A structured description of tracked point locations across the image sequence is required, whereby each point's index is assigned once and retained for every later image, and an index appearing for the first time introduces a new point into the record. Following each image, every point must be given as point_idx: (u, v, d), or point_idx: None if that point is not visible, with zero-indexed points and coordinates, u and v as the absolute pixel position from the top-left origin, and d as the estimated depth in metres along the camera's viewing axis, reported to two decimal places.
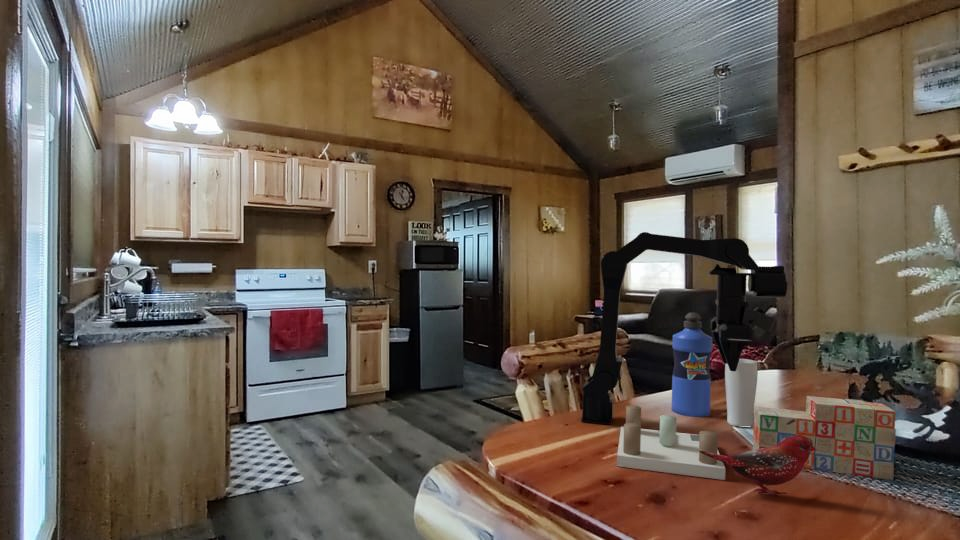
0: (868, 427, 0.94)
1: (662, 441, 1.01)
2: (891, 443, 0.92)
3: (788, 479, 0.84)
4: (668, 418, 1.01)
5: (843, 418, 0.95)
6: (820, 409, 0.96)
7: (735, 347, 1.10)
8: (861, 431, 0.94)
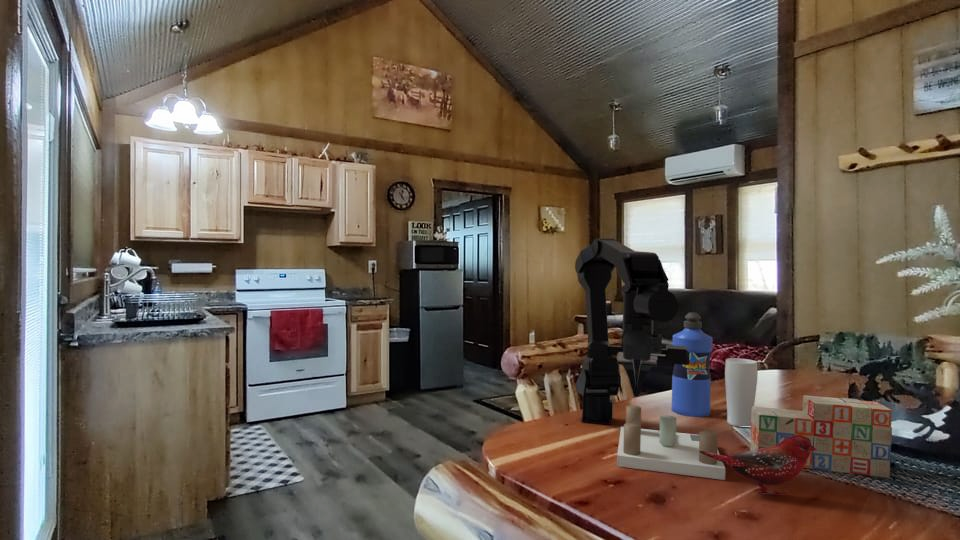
0: (865, 426, 0.94)
1: (662, 441, 1.01)
2: (888, 441, 0.93)
3: (788, 479, 0.84)
4: (668, 418, 1.01)
5: (841, 417, 0.96)
6: (818, 409, 0.96)
7: None
8: (858, 430, 0.95)
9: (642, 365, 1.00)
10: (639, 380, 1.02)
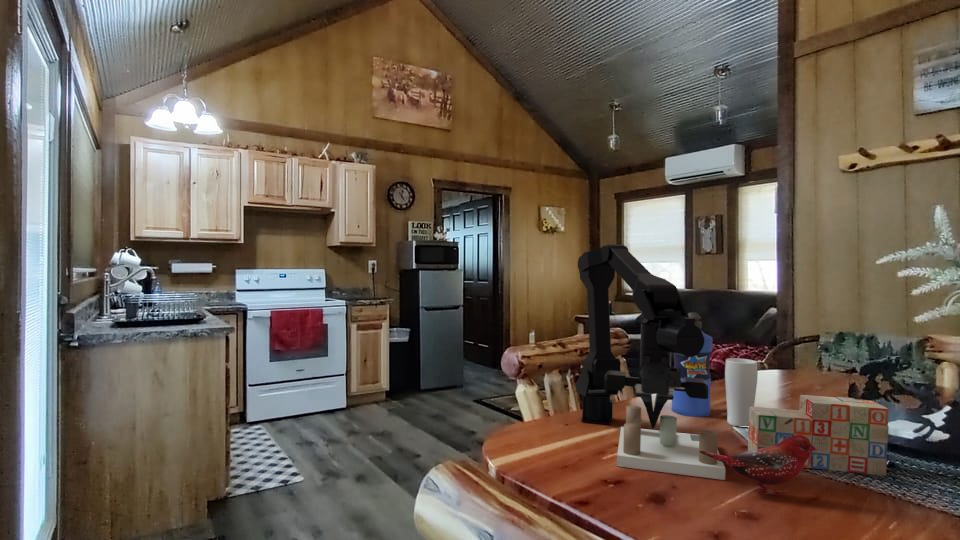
0: (862, 425, 0.95)
1: (662, 441, 1.01)
2: (884, 440, 0.94)
3: (788, 479, 0.84)
4: (668, 418, 1.01)
5: (838, 416, 0.96)
6: (817, 408, 0.97)
7: None
8: (856, 429, 0.95)
9: (659, 398, 0.99)
10: (655, 412, 1.01)
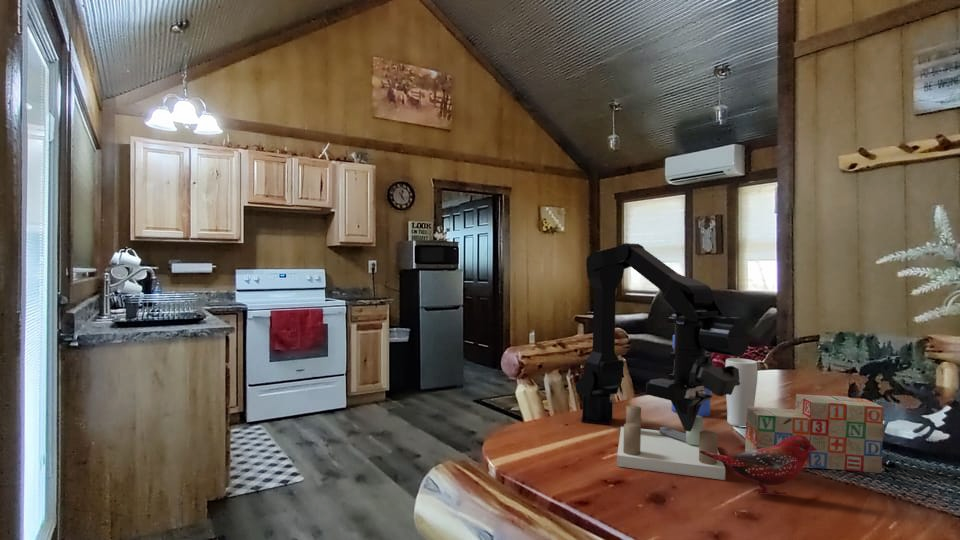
0: (859, 423, 0.96)
1: (696, 442, 1.01)
2: (880, 438, 0.95)
3: (788, 479, 0.84)
4: (698, 417, 1.02)
5: (836, 415, 0.97)
6: (815, 407, 0.97)
7: (685, 404, 1.00)
8: (852, 427, 0.96)
9: (704, 398, 0.99)
10: (695, 414, 1.00)
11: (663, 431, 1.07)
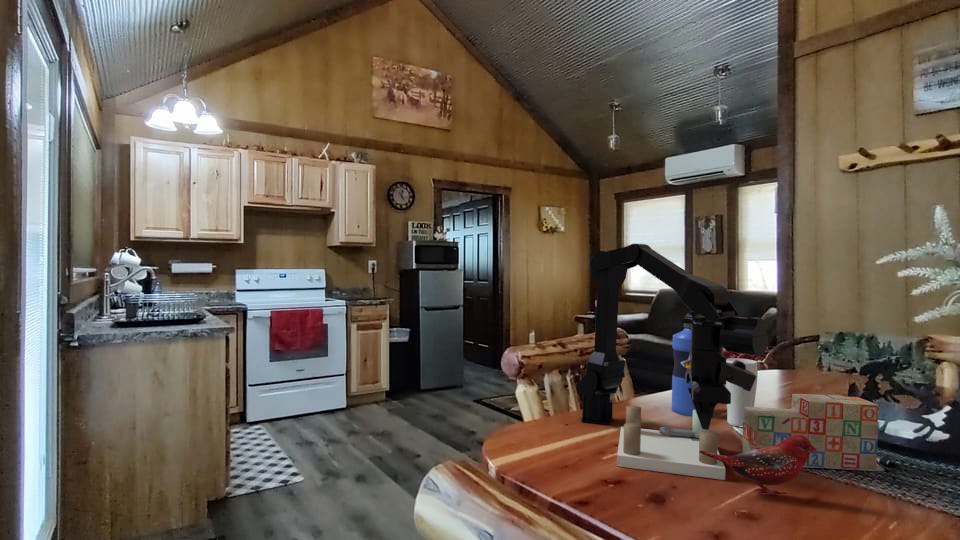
0: (855, 422, 0.97)
1: None
2: (875, 435, 0.97)
3: (788, 479, 0.84)
4: None
5: (833, 414, 0.97)
6: (812, 407, 0.98)
7: (707, 404, 1.01)
8: (849, 426, 0.97)
9: None
10: None
11: (668, 432, 1.07)
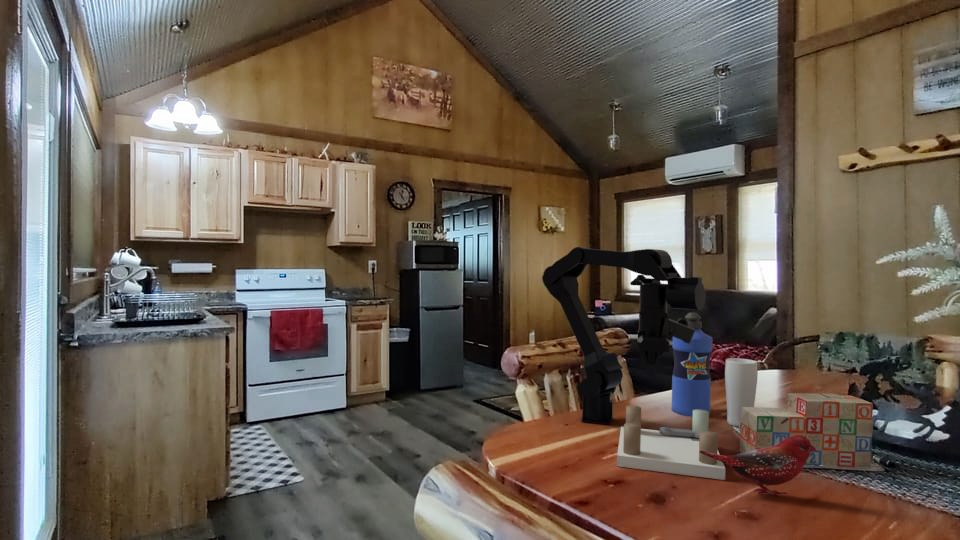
0: (850, 420, 0.98)
1: None
2: (869, 433, 0.98)
3: (788, 479, 0.84)
4: (704, 411, 1.06)
5: (829, 413, 0.98)
6: (810, 406, 0.98)
7: (653, 355, 1.14)
8: (845, 424, 0.98)
9: None
10: None
11: (668, 432, 1.07)
